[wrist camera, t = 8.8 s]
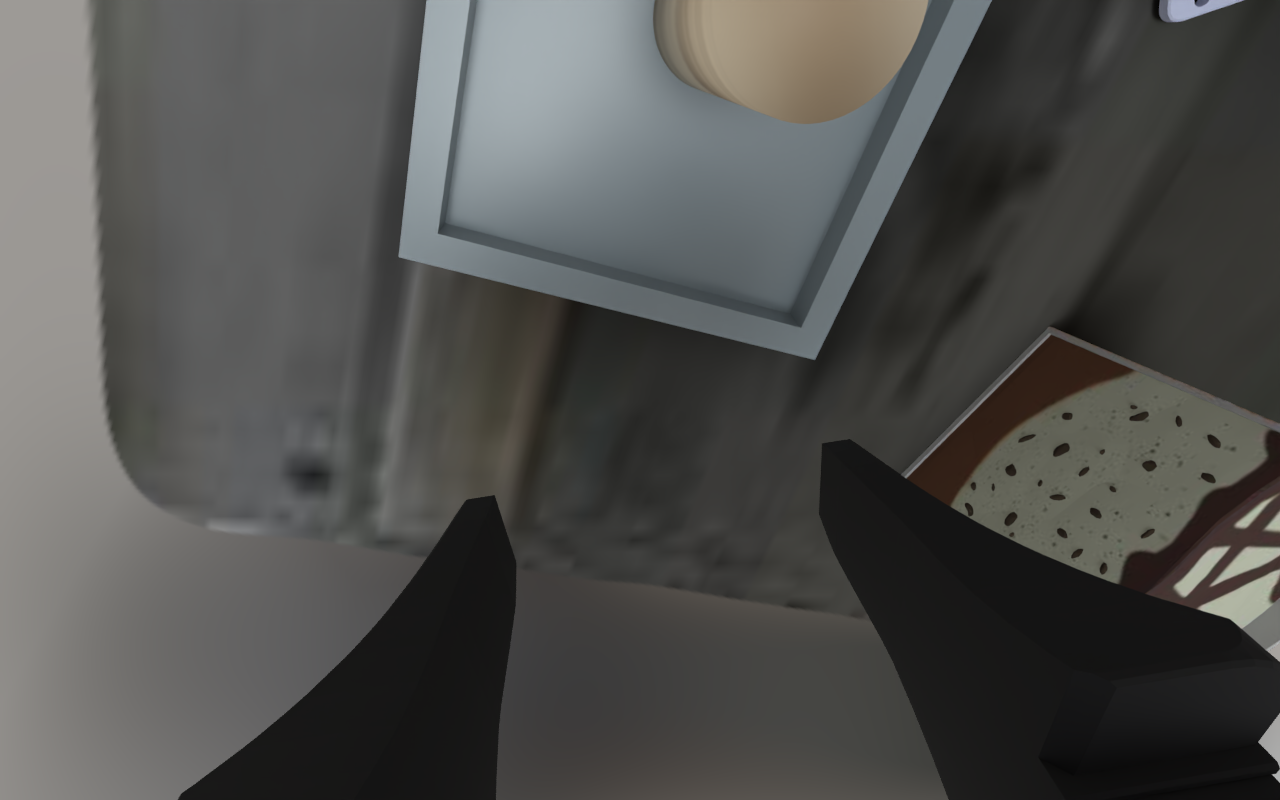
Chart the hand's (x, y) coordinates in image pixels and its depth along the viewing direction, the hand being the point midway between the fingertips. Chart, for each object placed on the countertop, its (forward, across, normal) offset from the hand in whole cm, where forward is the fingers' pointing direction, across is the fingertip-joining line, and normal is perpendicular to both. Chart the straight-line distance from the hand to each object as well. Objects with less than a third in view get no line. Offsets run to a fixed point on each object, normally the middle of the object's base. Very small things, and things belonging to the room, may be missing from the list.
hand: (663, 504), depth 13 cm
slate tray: (+10, -3, -8) cm, 13 cm away
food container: (+10, -16, +8) cm, 20 cm away
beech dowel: (+9, -4, -9) cm, 13 cm away
